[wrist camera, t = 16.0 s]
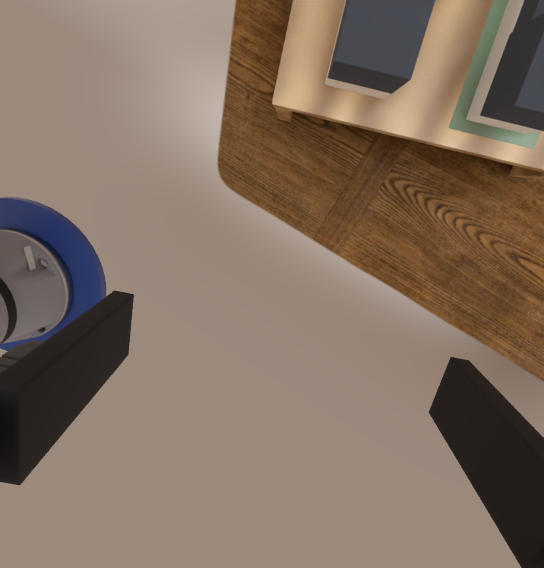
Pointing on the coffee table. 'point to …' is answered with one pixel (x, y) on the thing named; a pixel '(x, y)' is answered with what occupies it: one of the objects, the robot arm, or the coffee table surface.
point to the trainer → (514, 72)
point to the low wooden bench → (408, 83)
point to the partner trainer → (378, 45)
